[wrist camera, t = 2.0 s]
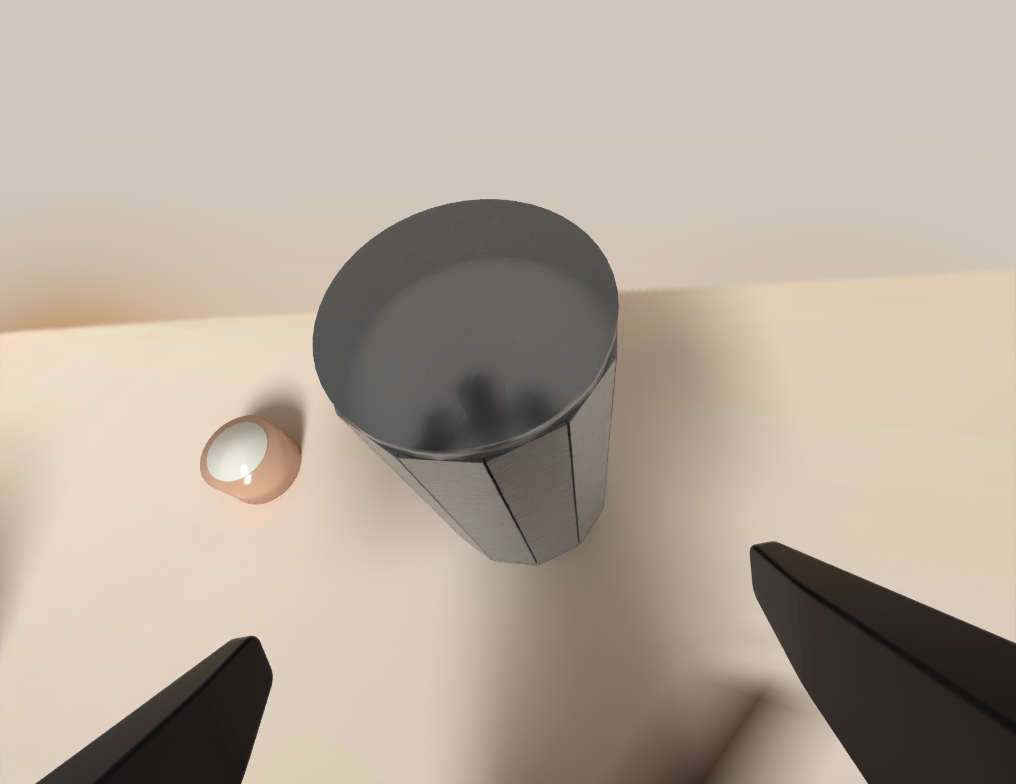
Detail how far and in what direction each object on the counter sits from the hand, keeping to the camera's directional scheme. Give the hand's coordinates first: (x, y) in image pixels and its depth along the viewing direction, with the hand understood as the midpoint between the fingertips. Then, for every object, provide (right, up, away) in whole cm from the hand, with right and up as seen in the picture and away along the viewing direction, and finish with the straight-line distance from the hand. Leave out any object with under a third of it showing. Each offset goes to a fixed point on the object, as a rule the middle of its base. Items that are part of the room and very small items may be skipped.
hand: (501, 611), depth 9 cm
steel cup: (+1, 0, +14) cm, 14 cm away
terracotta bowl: (-12, 0, +17) cm, 21 cm away
